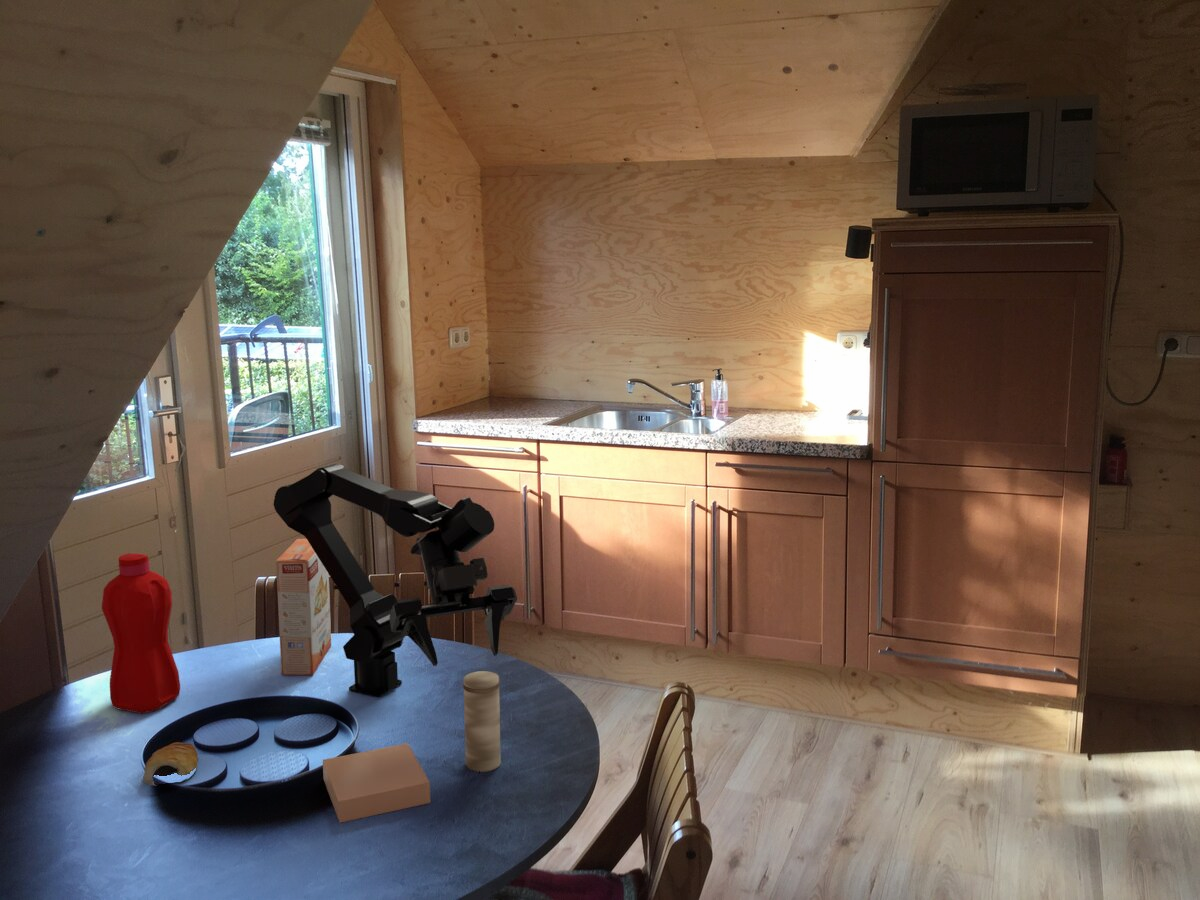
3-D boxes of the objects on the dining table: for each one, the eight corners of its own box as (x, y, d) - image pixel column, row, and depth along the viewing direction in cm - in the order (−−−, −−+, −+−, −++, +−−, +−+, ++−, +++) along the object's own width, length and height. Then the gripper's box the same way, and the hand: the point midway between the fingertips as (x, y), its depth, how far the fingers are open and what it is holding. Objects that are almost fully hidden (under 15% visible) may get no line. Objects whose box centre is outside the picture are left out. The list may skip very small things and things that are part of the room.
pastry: (159, 756, 152) (157, 731, 151) (207, 753, 153) (205, 729, 152) (141, 789, 143) (139, 763, 142) (192, 785, 144) (190, 760, 143)
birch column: (458, 767, 149) (455, 681, 146) (477, 751, 153) (475, 668, 151) (488, 775, 146) (487, 688, 144) (507, 759, 151) (506, 674, 148)
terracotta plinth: (339, 822, 134) (338, 801, 134) (323, 779, 145) (322, 759, 145) (430, 802, 139) (429, 782, 139) (408, 762, 150) (407, 743, 149)
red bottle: (197, 690, 174) (185, 546, 169) (148, 718, 164) (134, 566, 159) (152, 682, 177) (140, 541, 172) (102, 709, 167) (87, 559, 162)
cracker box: (315, 676, 179) (309, 560, 175) (280, 676, 179) (273, 560, 175) (334, 645, 193) (328, 536, 189) (301, 645, 193) (295, 536, 189)
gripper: (390, 548, 151) (412, 646, 144) (512, 534, 159) (538, 626, 151) (380, 584, 160) (400, 678, 152) (496, 569, 168) (521, 658, 160)
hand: (466, 659), depth 154 cm, fingers open, 9 cm apart
